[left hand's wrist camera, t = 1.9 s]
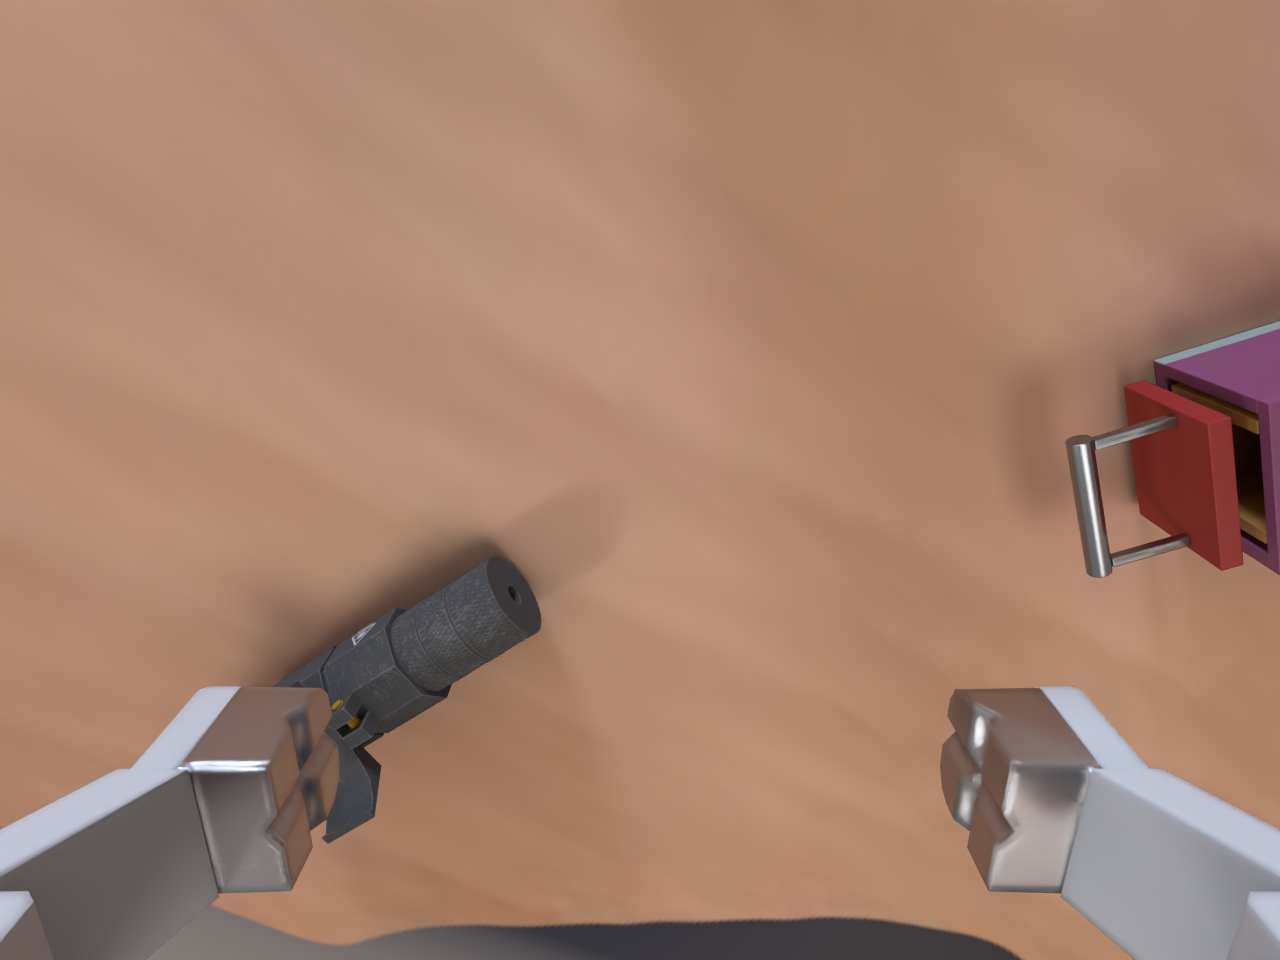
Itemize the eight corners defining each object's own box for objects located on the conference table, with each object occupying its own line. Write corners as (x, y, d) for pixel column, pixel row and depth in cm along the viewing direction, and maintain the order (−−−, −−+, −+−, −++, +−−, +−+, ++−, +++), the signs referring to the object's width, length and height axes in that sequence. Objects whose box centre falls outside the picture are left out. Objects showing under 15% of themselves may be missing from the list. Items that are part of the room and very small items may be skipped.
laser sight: (564, 624, 56) (548, 716, 46) (318, 772, 60) (259, 883, 51) (475, 516, 53) (440, 591, 43) (224, 679, 57) (143, 779, 48)
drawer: (1048, 540, 53) (1114, 601, 45) (1026, 415, 50) (1093, 458, 42) (1329, 459, 50) (1445, 509, 43) (1324, 323, 47) (1448, 352, 40)
